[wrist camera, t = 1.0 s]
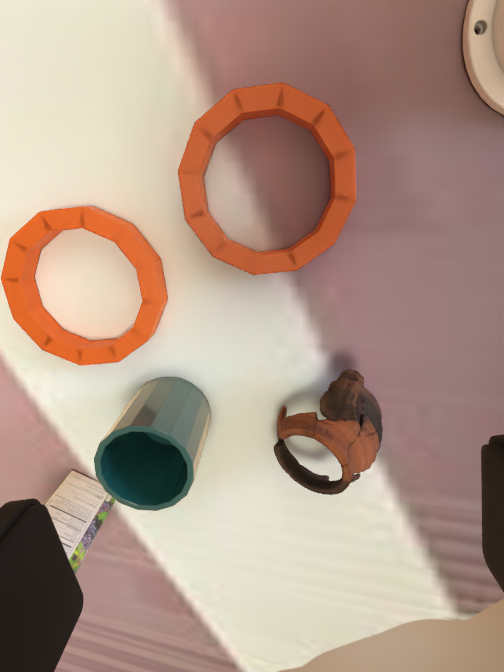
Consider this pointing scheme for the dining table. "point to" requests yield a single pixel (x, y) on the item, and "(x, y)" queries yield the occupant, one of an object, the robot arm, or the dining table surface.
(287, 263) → the orange ring
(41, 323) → the orange ring
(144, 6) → the dining table surface
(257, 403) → the dining table surface
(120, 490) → the tumbler
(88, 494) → the syrup box
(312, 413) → the broken clay pot
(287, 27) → the dining table surface
